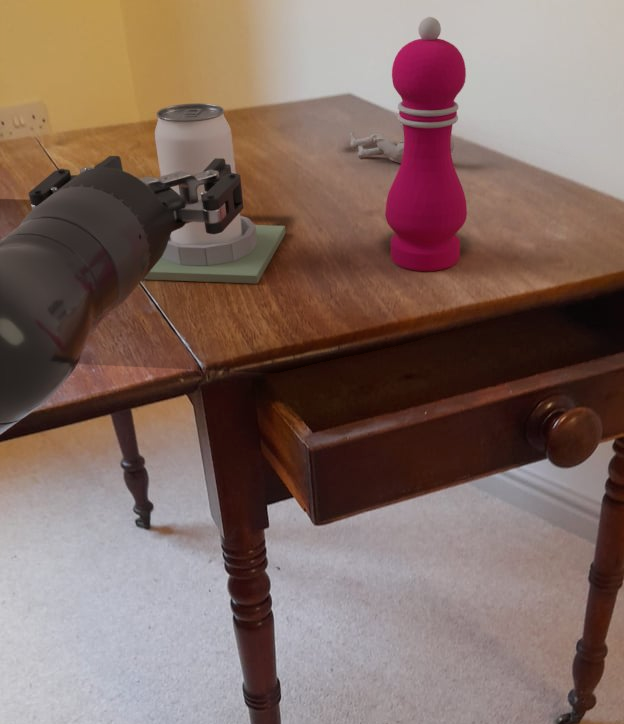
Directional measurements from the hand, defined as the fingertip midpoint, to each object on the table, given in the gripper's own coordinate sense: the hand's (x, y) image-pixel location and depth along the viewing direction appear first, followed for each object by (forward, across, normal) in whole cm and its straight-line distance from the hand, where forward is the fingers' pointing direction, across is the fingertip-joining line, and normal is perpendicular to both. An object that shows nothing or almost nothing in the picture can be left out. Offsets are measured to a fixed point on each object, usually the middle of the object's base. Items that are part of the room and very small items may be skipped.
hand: (169, 169), depth 69 cm
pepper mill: (+8, -20, +10) cm, 24 cm away
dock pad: (+7, 0, +10) cm, 12 cm away
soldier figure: (+37, -15, +10) cm, 41 cm away
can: (+7, 0, +9) cm, 12 cm away
